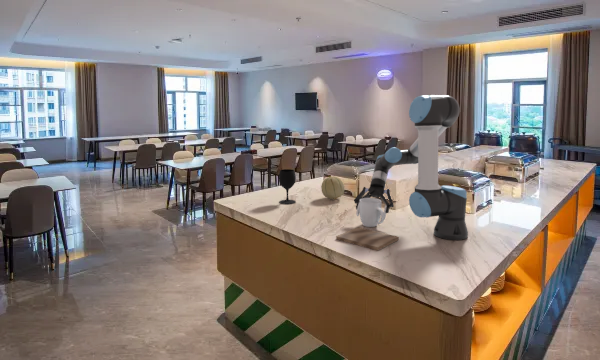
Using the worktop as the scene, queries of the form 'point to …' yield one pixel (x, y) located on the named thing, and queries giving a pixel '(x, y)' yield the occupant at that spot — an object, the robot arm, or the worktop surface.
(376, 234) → the serving board
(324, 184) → the cantaloupe
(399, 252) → the worktop surface
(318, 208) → the worktop surface
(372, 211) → the mug
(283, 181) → the wine glass
